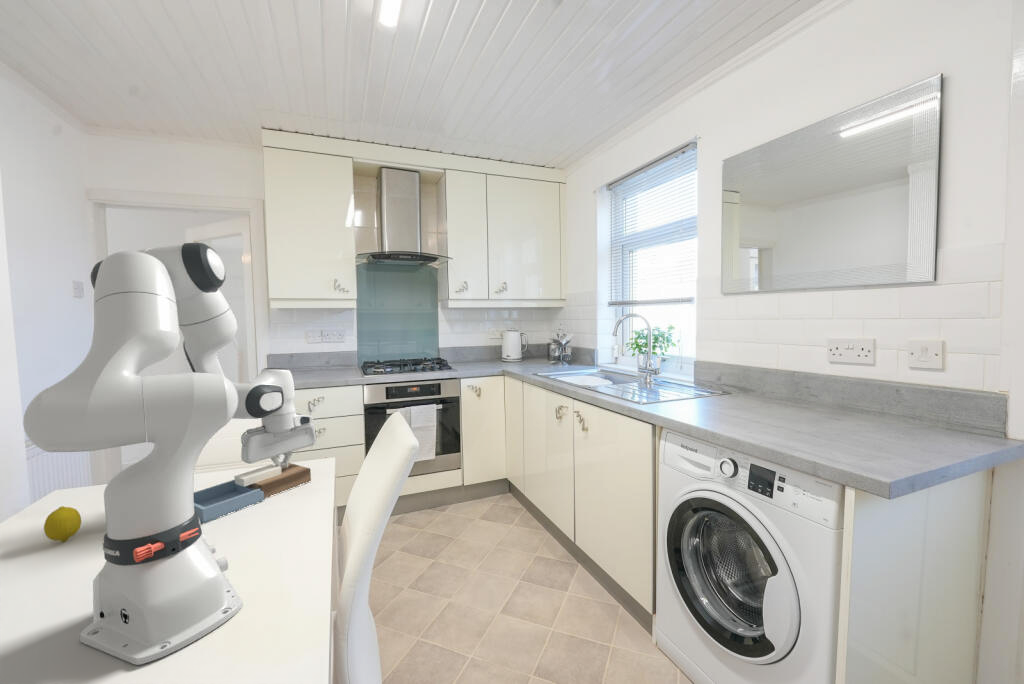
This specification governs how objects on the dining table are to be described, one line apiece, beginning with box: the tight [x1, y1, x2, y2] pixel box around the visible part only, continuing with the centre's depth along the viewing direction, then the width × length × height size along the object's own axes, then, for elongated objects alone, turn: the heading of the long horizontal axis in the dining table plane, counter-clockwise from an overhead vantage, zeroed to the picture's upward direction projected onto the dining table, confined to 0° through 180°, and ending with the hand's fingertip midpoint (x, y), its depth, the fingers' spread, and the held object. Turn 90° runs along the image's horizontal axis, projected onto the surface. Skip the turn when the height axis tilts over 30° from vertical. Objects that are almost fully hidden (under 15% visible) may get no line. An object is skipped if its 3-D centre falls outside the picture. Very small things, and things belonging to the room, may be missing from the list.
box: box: [194, 479, 265, 524], centre depth 107 cm, size 14×14×4 cm
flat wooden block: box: [248, 462, 312, 498], centre depth 118 cm, size 12×14×4 cm
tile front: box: [233, 469, 264, 487], centre depth 112 cm, size 5×5×2 cm
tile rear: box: [254, 464, 282, 480], centre depth 116 cm, size 5×5×2 cm
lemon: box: [43, 506, 82, 543], centre depth 90 cm, size 6×6×8 cm
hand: (282, 468), depth 120 cm, fingers closed
